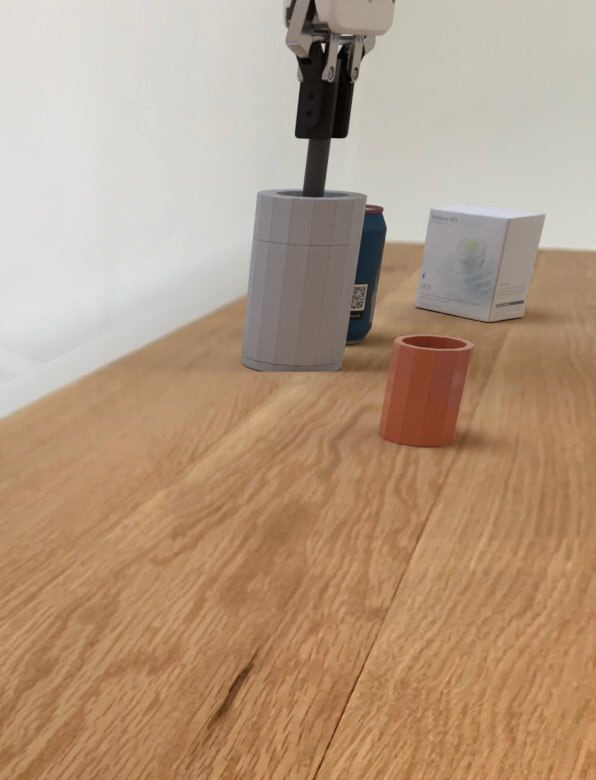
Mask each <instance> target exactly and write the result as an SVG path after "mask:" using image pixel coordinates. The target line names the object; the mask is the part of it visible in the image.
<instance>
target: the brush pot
mask: <svg viewBox="0 0 596 780" xmlns="http://www.w3.org/2000/svg"><path fill="white" fill-rule="evenodd" d="M475 346H476V345H475V344H474V343H473V342H471V341H470V340H467V339H463V338H459V337H454V336H448V335H439V334H406V335H400V336H397V337H395V339H394V340H393V344H392V348H391V349H392V350H391V356H390V359H389V360H390V362H389V366H388V367H389V368H388V374H387V379H386V385H385V390H384V397H383V401H382V402H383V403H382V408H381V414H380V420H379V426H378V436H379V437H380V438H382V439H383V440H385V441H387V442H390V443H393V444H396V445H400V446H406V447H413V448H441V447H447V446H449V445H452V444H453V443H454V442H455V440H456V438H457V433H458V428H459V424H460V418H461V413H462V409H463V404H464V400H465V399H464V398H465V394H466V390H467V385H468V381H469V380H468V379H469V375H470V370H471V366H472V360H473V356H474V350H475Z"/></svg>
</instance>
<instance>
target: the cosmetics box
mask: <svg viewBox="0 0 596 780" xmlns="http://www.w3.org/2000/svg"><path fill="white" fill-rule="evenodd" d="M428 215H429V216H428V222H427V228H426V235H425V240H424V246H423V253H422V257H421V258H422V259H421V264H420V269H419V276H418V282H417V287H416V295H415V298H414V299H415V300H414V307H415V308H420V309H424V310H428V311H434V312H438V313H443V314H446V315H452V316H456V317H461V318H465V319H470V320H474V321H480V322H485V323H492V322H498V321H505V320H511V319H518V318H523V317H524V316H525V311H526V305H527V301H528V296H529V293H530V286H531V283H532V277H533V273H534V268H535V264H536V261H537V260H536V259H537V255H538V251H539V246H540V243H541V242H540V241H541V237H542V232H543V228H544V224H545V221H546V216H547V214H546V213H544V212H540V211H539V212H538V211H529V210H522V209H514V208H506V207H499V206H490V205H481V204H474V203H462V204H461V203H460V204H454V205H447V206H446V205H445V206H438V207H430V209H429V214H428Z"/></svg>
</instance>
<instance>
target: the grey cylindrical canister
mask: <svg viewBox="0 0 596 780" xmlns="http://www.w3.org/2000/svg"><path fill="white" fill-rule="evenodd" d="M302 192H303V188H277V189H274V188H273V189H265V190H260V191H258V192H257V195H256V203H255V211H254V212H255V214H254V222H253V233H252V242H251V253H250V262H249V263H250V264H249V273H248V284H247V293H246V301H245V302H246V303H245V311H244V322H243V332H242V342H241V364H242V365H243V366H245V367H247V368H249V369H252V370H255V371H259V372H264V373H282V372H283V373H286V372H287V373H289V372H290V373H293V372H295V373H311V372H313V373H314V372H315V373H316V372H317V373H320V372H321V373H322V372H325V373H326V372H327V373H328V372H329V373H330V372H331V373H333V372H334V373H335V372H338V371H339V370H341V369H342V366H343V359H344V357H345V352H346V351H345V350H346V345H347V344H346V338H347V331H348V324H349V317H350V310H351V303H352V297H353V290H354V283H355V276H356V269H357V263H358V256H359V249H360V242H361V241H360V240H361V235H362V229H363V222H364V215H365V208H366V204H367V201H368V195H367V194H364V193H361V192H357V191H349V190H348V191H346V190H336V189H325V190H324V197H302Z"/></svg>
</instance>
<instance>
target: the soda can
mask: <svg viewBox="0 0 596 780" xmlns="http://www.w3.org/2000/svg"><path fill="white" fill-rule="evenodd" d="M384 208H385V207H384V206H381V205H375V204H367V203H366V208H365V215H364V222H363V229H362V235H361V240H360V241H361V242H360V249H359V256H358V263H357V269H356V276H355V283H354V290H353V297H352V303H351V310H350V317H349V324H348V331H347V338H346V344H345V345H356V344H360V343H361V342H363V340H364V339H365V338H366V336H367V335H368V334H369V332H370V331H371V329H372V327H373V321H374V314H375V307H376V302H377V295H378V289H379V284H380V283H379V282H380V276H381V269H382V263H383V257H384V250H385V245H386V244H385V243H386V238H387V231H388V227H387V224H386V220H385V216H384V210H385V209H384ZM359 342H360V343H359Z"/></svg>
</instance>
